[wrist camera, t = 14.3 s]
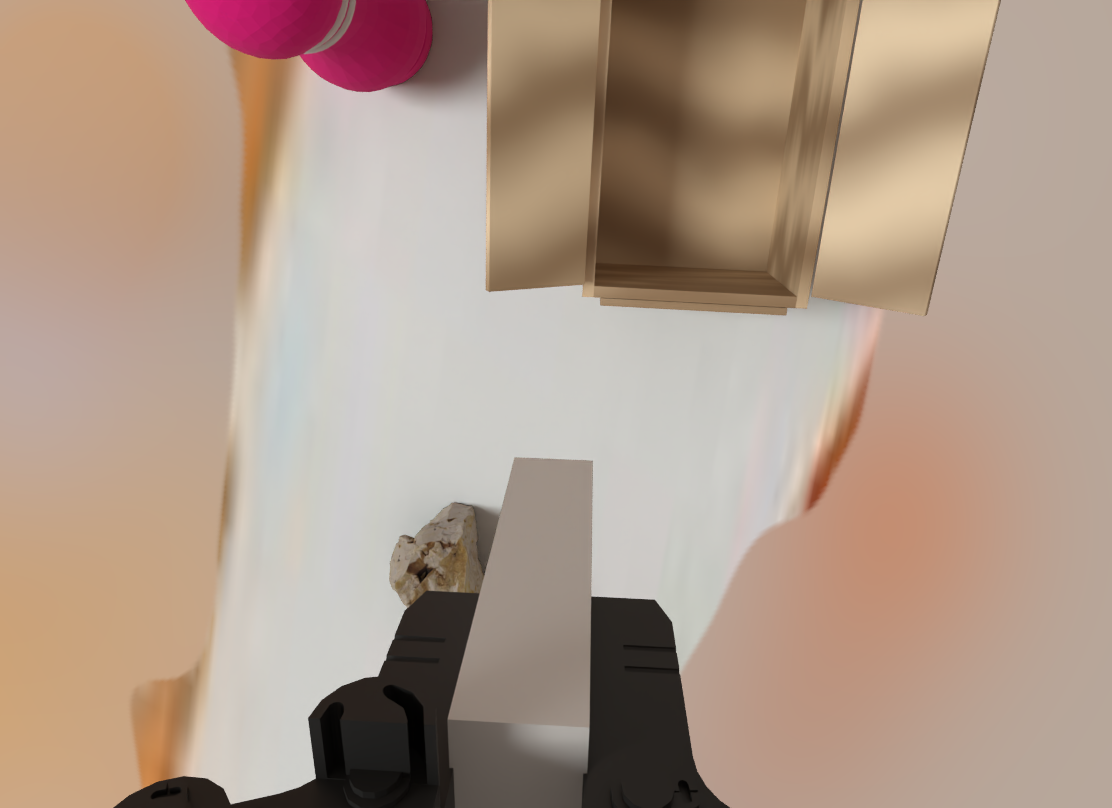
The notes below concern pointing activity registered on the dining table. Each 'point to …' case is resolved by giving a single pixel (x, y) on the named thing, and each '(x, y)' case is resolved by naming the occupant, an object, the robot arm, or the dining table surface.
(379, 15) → the pepper mill
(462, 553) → the rock
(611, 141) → the carton
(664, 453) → the dining table surface
